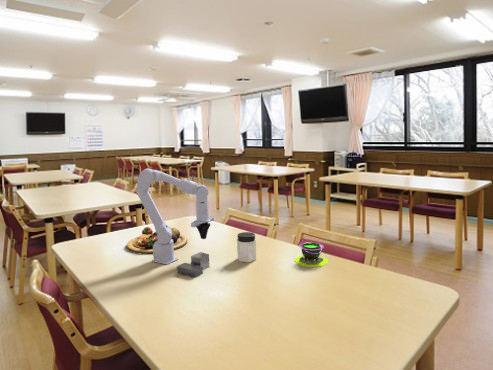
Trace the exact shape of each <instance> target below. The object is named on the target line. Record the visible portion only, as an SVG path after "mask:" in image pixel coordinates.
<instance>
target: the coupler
mask: <svg viewBox="0 0 493 370" xmlns="http://www.w3.org/2000/svg"><path fill="white" fill-rule="evenodd" d="M176 273H177V274H179V275H183V276H187V277H190V278H191V277H192V278H197V277H200V276H201V275H203V274H204V270H203V267H201V266H199V264H196V265H193V264H191V263H188V262H183V263H181V264H178V265H177V266H176Z"/></svg>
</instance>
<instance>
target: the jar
mask: <svg viewBox="0 0 493 370" xmlns="http://www.w3.org/2000/svg"><path fill="white" fill-rule="evenodd" d="M256 243H257V242H256V234H255V233H254V232H249V231H245V232H239V233H238V234H237V239H236V244H237V246H236V248H237V249H236V251H237V260H238V261H239V262H241V263H252V262H254V261H257V244H256Z"/></svg>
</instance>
